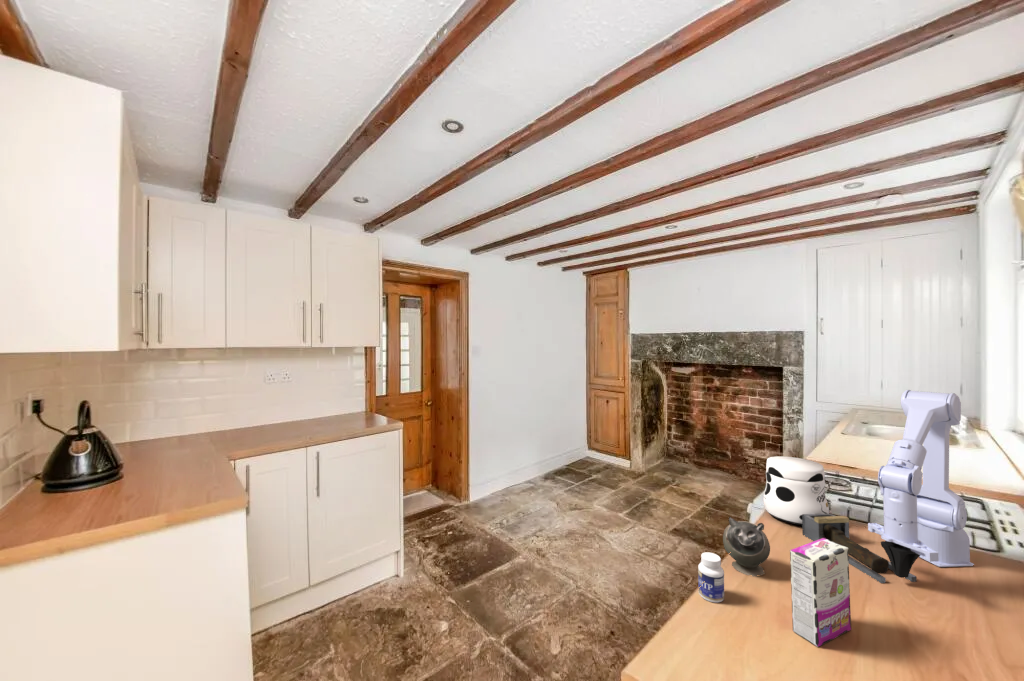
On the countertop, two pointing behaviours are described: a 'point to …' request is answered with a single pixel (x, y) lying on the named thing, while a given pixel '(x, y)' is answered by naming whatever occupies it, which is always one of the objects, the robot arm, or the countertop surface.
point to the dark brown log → (856, 549)
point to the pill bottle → (711, 578)
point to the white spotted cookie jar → (794, 488)
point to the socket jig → (814, 531)
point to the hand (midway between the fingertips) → (901, 575)
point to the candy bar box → (820, 591)
